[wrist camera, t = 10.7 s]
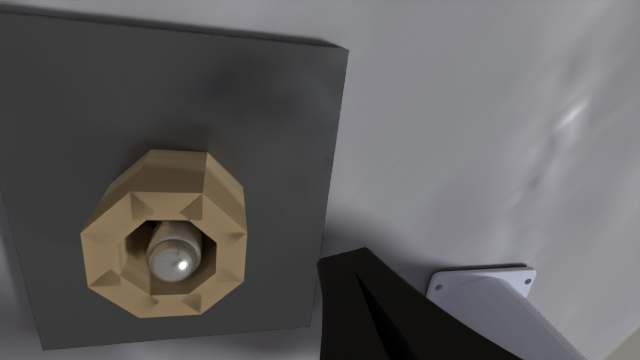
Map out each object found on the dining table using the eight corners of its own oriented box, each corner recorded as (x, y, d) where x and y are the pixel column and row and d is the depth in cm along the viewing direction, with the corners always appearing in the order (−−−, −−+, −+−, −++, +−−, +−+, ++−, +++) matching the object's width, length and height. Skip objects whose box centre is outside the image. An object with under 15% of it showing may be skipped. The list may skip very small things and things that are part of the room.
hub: (306, 314, 24) (326, 393, 19) (50, 334, 20) (-4, 439, 15) (342, 47, 17) (388, 66, 12) (-29, 8, 13) (-167, 12, 9)
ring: (265, 208, 18) (275, 257, 15) (181, 274, 19) (171, 337, 16) (179, 125, 16) (166, 161, 12) (84, 205, 16) (46, 262, 13)
